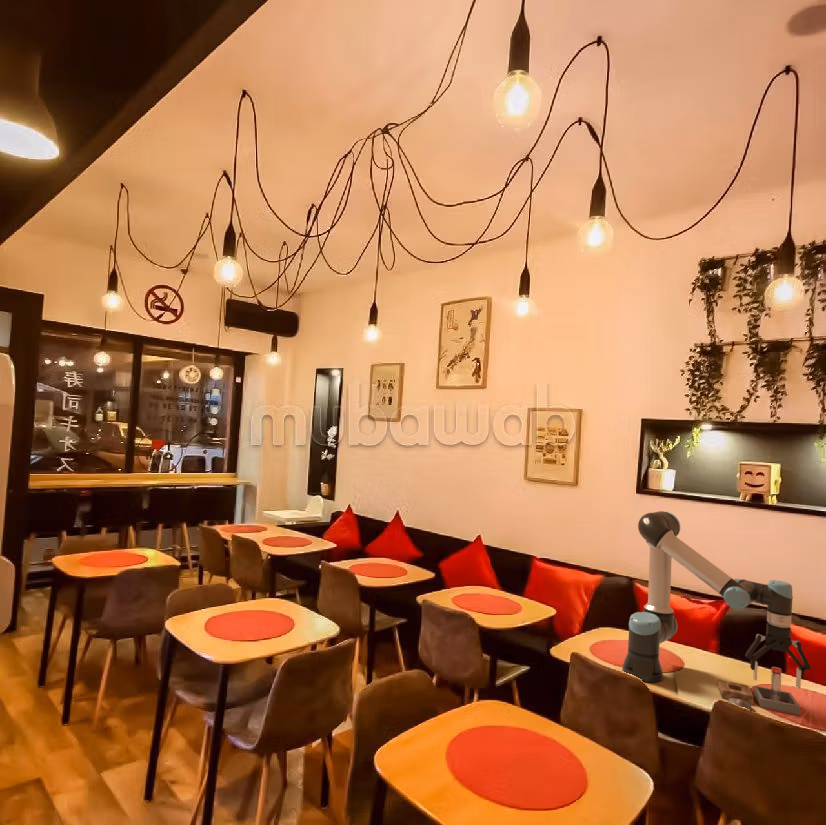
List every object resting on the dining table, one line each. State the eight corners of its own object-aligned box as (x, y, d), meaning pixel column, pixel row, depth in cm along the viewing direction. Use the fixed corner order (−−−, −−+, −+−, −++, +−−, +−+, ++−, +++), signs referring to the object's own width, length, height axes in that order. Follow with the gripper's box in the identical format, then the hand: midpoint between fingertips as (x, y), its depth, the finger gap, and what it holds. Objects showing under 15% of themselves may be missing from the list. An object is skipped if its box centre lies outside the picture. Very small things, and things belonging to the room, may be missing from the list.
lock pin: (771, 705, 204) (772, 669, 205) (769, 701, 207) (770, 666, 208) (781, 707, 203) (782, 670, 204) (779, 703, 206) (780, 667, 207)
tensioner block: (725, 710, 200) (725, 699, 200) (717, 690, 216) (718, 679, 217) (757, 717, 196) (758, 705, 196) (747, 696, 213) (748, 685, 213)
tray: (759, 709, 202) (760, 698, 202) (753, 696, 213) (753, 685, 213) (799, 718, 198) (799, 706, 198) (790, 703, 209) (790, 692, 209)
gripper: (742, 621, 207) (739, 679, 207) (822, 634, 198) (820, 695, 198) (738, 615, 214) (735, 671, 214) (816, 627, 205) (813, 686, 205)
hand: (776, 683), depth 206 cm, fingers open, 13 cm apart
